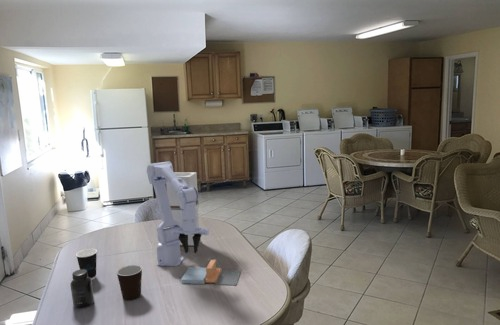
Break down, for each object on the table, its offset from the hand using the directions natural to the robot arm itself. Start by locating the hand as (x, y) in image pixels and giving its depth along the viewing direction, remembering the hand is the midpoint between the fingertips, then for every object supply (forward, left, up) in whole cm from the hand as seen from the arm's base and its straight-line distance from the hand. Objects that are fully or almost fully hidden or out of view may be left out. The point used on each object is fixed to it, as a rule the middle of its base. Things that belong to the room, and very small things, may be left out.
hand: (191, 251), depth 151 cm
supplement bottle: (-33, -23, -11) cm, 42 cm away
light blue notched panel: (+2, 0, -10) cm, 11 cm away
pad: (+15, 0, -10) cm, 18 cm away
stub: (+9, 0, -10) cm, 13 cm away
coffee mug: (-18, -15, -11) cm, 26 cm away
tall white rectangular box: (-13, +33, -11) cm, 37 cm away
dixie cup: (-42, -4, -11) cm, 44 cm away
